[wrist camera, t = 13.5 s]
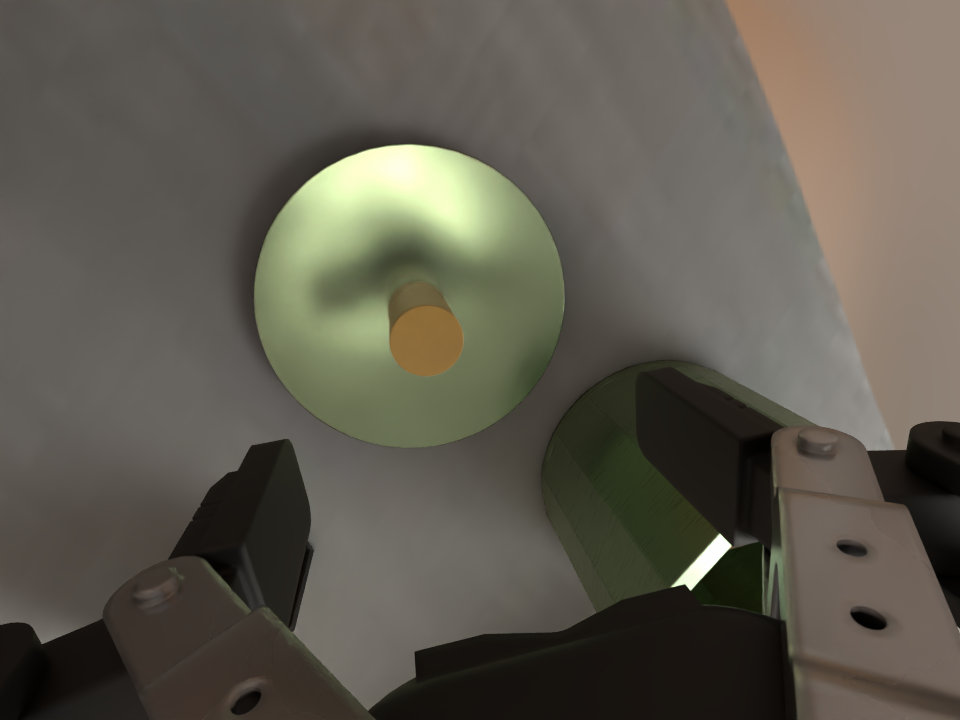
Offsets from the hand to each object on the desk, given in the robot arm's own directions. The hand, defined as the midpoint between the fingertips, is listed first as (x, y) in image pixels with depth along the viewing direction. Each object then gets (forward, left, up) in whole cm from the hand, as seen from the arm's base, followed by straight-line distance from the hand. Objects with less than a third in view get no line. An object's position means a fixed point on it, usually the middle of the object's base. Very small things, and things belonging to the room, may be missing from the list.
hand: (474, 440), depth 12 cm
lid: (-1, 0, -12) cm, 12 cm away
